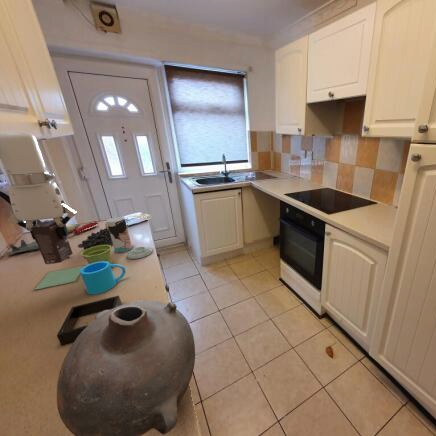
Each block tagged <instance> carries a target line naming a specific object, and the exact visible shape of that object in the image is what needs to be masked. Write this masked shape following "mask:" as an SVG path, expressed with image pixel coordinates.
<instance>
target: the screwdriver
mask: <svg viewBox="0 0 436 436" xmlns="http://www.w3.org/2000/svg"><path fill="white" fill-rule="evenodd" d="M92 222H95V223H92ZM92 222H89V223H86V224H83V225H82V226H79V227H80V228H78V229H73V232H69V234H68V236H70V235H72V234H74V235H76V236H77V235H79V234H80V233H82V232H85V231H86V232H87V231H89V230H92V229H93V228H90V229H87V230H84V229H86V228H89V227H92V226H94V225H96V224H98V225H99V222H97V221H96V220H94V221H92ZM82 230H84V231H82ZM80 231H81V232H80Z"/></svg>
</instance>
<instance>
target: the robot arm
mask: <svg viewBox="0 0 436 436" xmlns="http://www.w3.org/2000/svg"><path fill="white" fill-rule="evenodd" d="M0 162H1V163H2V166H3V168H4V170H5V174H6V176H7V179H8V181H9V184H10V185H9V186H8V197H9V202H10V204H11V205H10V206H11V208H12V211H13V212H12V213H11V214H10V216H9V217H8V219H7V221H8V222H9V223H11V224H15V225H18V226H19V227H22V228H23V229H25V230H26V231H29V233H30V235H31V237H32V240H33V241H34V242H36V239H35V237H34V234H33V231H32V229H31V227H33V226H35V225H37V224H38V221H40V220H54V221H55V222H56V223H57V225H58V227H57V230H58V233H59V236H60V239H62V240H63V239H65V238H66V237H67V238H68V236H69V235H68V234H70V232H68V230H67V227H66V225H67V224H68V223H69V221H70V220H71V219H73V218H74V217H75V216H76V215H77V214H78V212H77V211H75V210H74V209H72V208H71V207H70V206H68V204H67V202H66V200H65V197H64V196H63V195H64V194H63V193H62V191H61V190H60V188H59V185H58V184H57V183H56V182H55V181H52V180H56V178H57V177H56V174H54V173H50V172H49V171H48V169H47V167H46V164H45V161H44V158H43V155H42V152H41V149H40V146H39V143H38V141H37V138H36V136H35V134H33V133H31V132H28V131H0ZM64 214H67V215H66V216H65V217H64ZM36 243H37V242H36Z"/></svg>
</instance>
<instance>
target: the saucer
mask: <svg viewBox="0 0 436 436" xmlns="http://www.w3.org/2000/svg"><path fill="white" fill-rule="evenodd" d="M152 253H153V249H152V248H149V247H146V246H139V247H134V248H132V249H131V251H129V253H128V254H127V256H126V258H127V259H130V260H137V259H142V258H145V257H148V256H149V255H151V254H152Z"/></svg>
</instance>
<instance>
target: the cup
mask: <svg viewBox="0 0 436 436" xmlns="http://www.w3.org/2000/svg"><path fill="white" fill-rule="evenodd" d="M106 222H107V225H108V228H109V232H110V235H111V238H112V242H113V244H112V245H113V248H114V252H115V253H118V254H119V253H126V252H128V251H130V250H133V244H132V241H131V237H130V233H129V229H128V226H127V225H126V222H125V218H124V216H116V217H115V216H114V217H111V218H108V219H107V220H105V223H106Z"/></svg>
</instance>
